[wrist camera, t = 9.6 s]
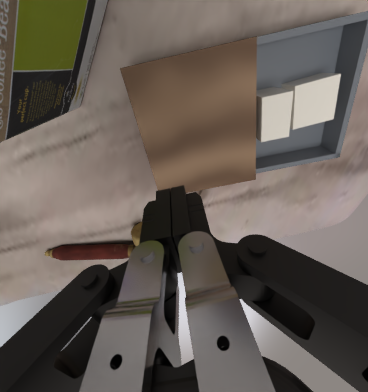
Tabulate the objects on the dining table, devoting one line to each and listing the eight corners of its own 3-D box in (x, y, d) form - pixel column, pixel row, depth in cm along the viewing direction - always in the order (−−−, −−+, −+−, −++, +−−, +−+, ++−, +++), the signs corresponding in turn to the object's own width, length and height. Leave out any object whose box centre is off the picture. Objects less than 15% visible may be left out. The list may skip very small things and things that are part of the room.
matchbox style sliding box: (129, 68, 22) (119, 68, 17) (239, 42, 21) (256, 36, 17) (161, 179, 29) (160, 197, 25) (243, 162, 29) (255, 179, 24)
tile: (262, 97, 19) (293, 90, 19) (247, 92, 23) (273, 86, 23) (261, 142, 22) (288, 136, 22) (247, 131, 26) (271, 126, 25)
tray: (239, 42, 21) (251, 38, 18) (346, 17, 20) (377, 8, 17) (243, 162, 29) (251, 174, 26) (321, 147, 28) (339, 157, 25)
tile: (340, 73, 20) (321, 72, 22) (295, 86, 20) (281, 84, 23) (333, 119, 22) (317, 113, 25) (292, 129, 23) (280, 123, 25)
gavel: (49, 281, 36) (22, 243, 31) (62, 261, 40) (40, 223, 35) (164, 279, 35) (157, 239, 30) (166, 258, 39) (161, 219, 34)
